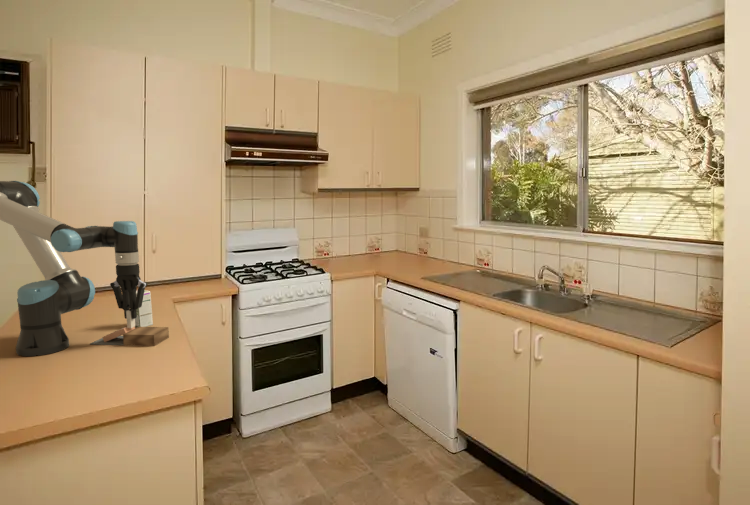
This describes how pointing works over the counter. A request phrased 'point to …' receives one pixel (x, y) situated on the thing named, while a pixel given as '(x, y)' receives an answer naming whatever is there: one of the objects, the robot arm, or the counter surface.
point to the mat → (114, 341)
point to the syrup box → (144, 311)
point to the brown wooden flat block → (146, 336)
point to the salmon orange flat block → (117, 333)
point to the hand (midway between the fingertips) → (131, 327)
